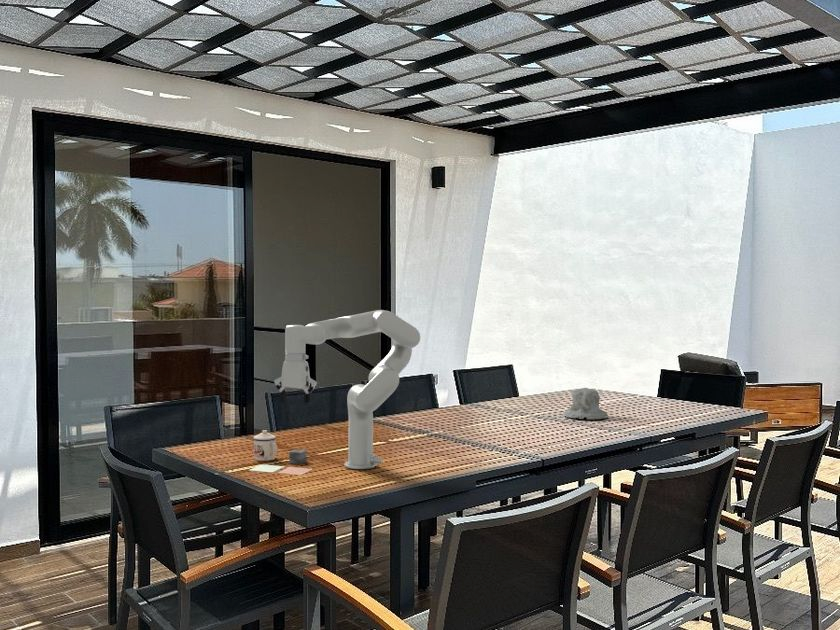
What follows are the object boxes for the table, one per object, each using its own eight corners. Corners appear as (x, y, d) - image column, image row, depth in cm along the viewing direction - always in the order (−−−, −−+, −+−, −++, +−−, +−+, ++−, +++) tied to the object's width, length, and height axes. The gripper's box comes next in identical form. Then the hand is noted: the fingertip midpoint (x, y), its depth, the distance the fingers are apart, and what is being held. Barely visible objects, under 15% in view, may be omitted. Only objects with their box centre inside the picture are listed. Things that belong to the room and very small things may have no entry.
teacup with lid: (248, 459, 323) (248, 430, 322) (266, 455, 330) (266, 427, 329) (267, 463, 315) (267, 434, 314) (285, 459, 322) (285, 431, 321)
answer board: (313, 470, 304) (313, 469, 304) (301, 476, 295) (301, 474, 295) (261, 465, 311) (261, 464, 311) (248, 471, 302) (248, 470, 302)
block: (306, 462, 318) (306, 450, 318) (300, 465, 313) (300, 452, 313) (295, 461, 319) (295, 449, 319) (289, 464, 315) (289, 451, 314)
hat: (617, 418, 427) (618, 390, 426) (585, 422, 415) (585, 393, 415) (584, 411, 449) (585, 385, 448) (552, 414, 438) (553, 387, 437)
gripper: (320, 357, 300) (320, 403, 301) (279, 356, 306) (279, 400, 306) (311, 359, 293) (311, 406, 294) (269, 357, 298) (269, 403, 299)
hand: (295, 403), depth 300 cm, fingers open, 9 cm apart
